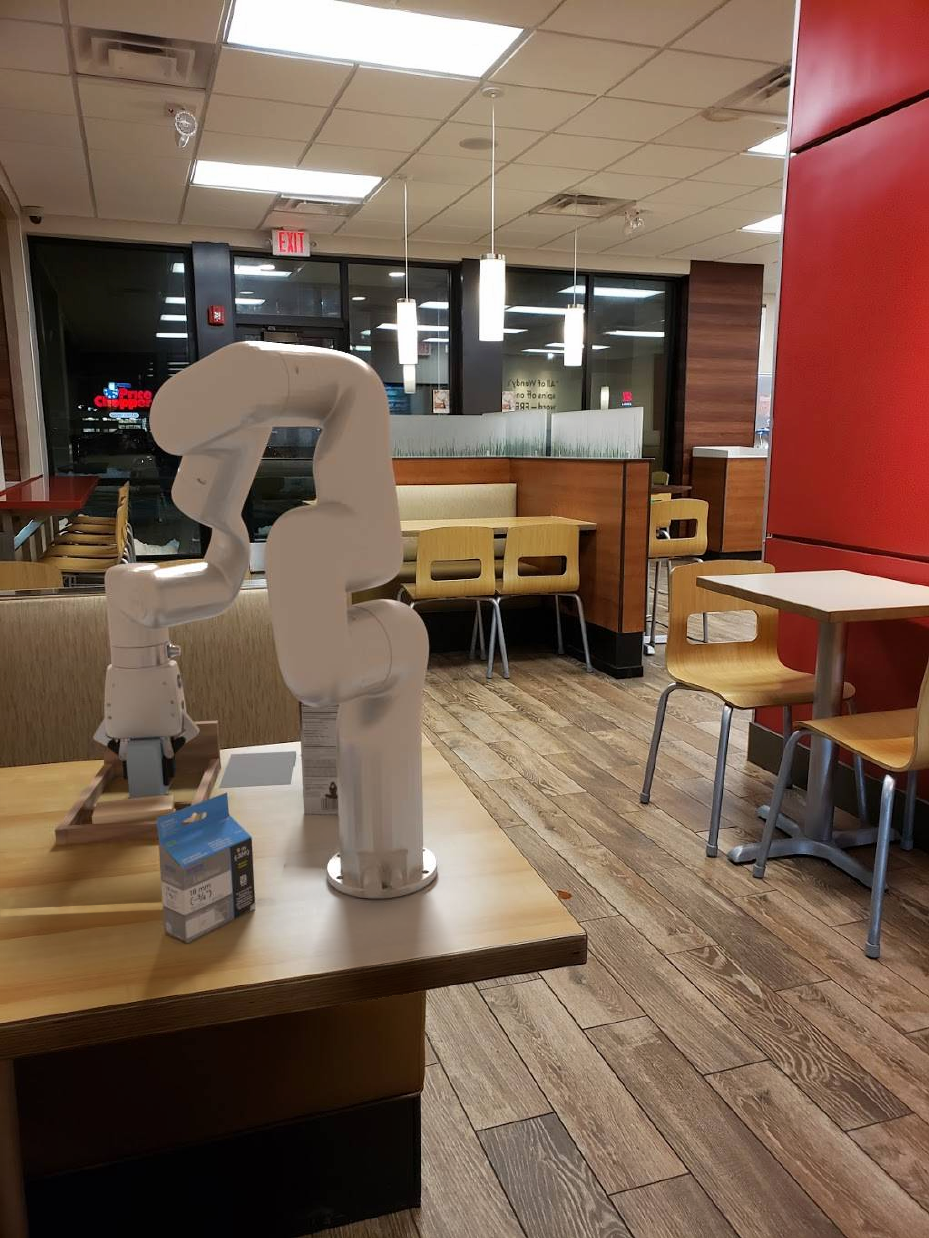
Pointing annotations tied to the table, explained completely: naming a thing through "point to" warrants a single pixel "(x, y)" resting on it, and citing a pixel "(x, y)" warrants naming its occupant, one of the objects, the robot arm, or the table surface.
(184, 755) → the rack
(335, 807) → the coffee box
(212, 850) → the label tape cartridge
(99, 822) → the slab top
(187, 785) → the table surface
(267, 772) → the mat
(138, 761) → the pale blue upright prism
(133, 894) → the table surface
